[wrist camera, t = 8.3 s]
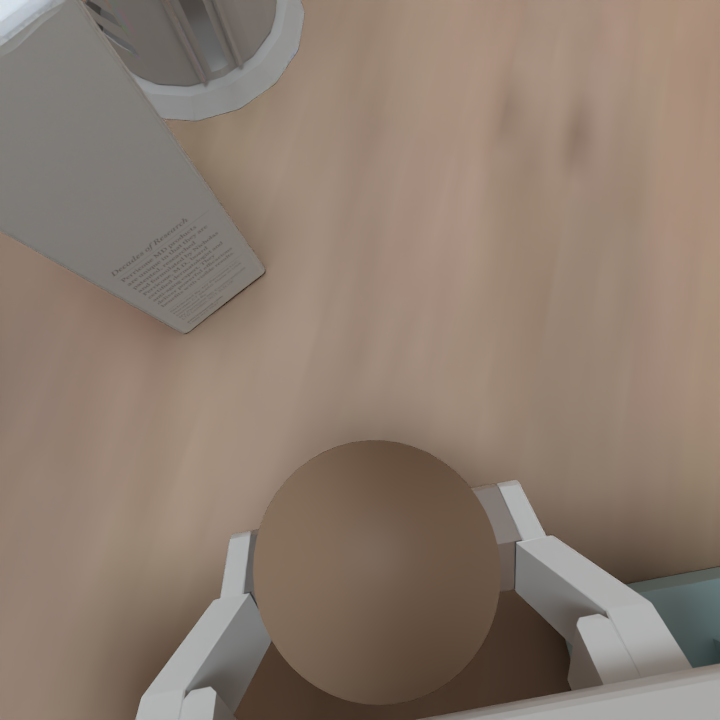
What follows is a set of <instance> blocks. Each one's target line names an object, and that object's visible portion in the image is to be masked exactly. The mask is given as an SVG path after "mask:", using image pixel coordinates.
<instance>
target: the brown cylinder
mask: <svg viewBox="0 0 720 720" xmlns="http://www.w3.org/2000/svg"><path fill="white" fill-rule="evenodd" d="M253 580H254V591H255V596H256V601H257V606H258V609H259V612H260V615H261V618H262V621H263V624H264V626H265V628H266V630H267V632H268V634H269V637H270V639H271V640H272V642H273V643H274V645H275V646H276V648H277V650H278V651H279V653H280V654H281V655H282V656H283V658H284V659H285V660H286V661H287V662H288V664H289V665H290V666H291V667H292V668H293V669H294V670H295V671H296V672H298V673H299V674H300V675H301V676H302V677H303V678H304V679H306V680H307V681H309V682H310V683H311V684H313V685H314V686H316V687H317V688H319V689H321V690H323V691H325V692H327V693H329V694H331V695H333V696H335V697H338V698H341V699H344V700H347V701H350V702H356V703H361V704H367V705H389V704H398V703H403V702H407V701H411V700H415V699H418V698H420V697H423V696H425V695H427V694H430V693H432V692H434V691H435V690H437V689H439V688H440V687H442V686H444V685H445V684H447V683H448V682H449V681H451V680H452V679H453V678H454V677H455V676H457V675H458V674H459V673H460V672H461V671H462V670H463V669H464V668H465V667H466V666H467V665H468V663H469V662H470V661H471V660H472V659H473V658H474V656H475V655H476V653H477V652H478V650H479V649H480V647H481V646H482V644H483V642H484V640H485V638H486V636H487V634H488V632H489V630H490V628H491V625H492V622H493V619H494V616H495V613H496V609H497V605H498V600H499V595H500V582H501V569H500V557H499V551H498V545H497V541H496V537H495V534H494V531H493V527H492V525H491V522H490V520H489V518H488V516H487V513H486V511H485V509H484V508H483V506H482V504H481V503H480V501H479V499H478V498H477V496H476V495H475V493H474V492H473V491H472V489H471V488H470V487H469V486H468V484H467V483H466V482H465V481H464V480H463V479H462V478H461V477H460V476H459V475H458V474H457V473H456V472H455V471H454V470H453V469H451V468H450V467H449V466H447V465H446V464H445V463H443V462H442V461H441V460H439V459H437V458H436V457H434V456H432V455H430V454H429V453H427V452H424V451H422V450H420V449H417V448H415V447H412V446H408V445H405V444H401V443H397V442H390V441H371V440H368V441H360V442H352V443H348V444H345V445H341V446H337V447H335V448H332V449H330V450H327V451H325V452H323V453H321V454H319V455H318V456H316V457H314V458H312V459H311V460H309V461H308V462H307V463H305V464H304V465H303V466H301V467H300V468H299V469H297V470H296V471H295V472H294V473H293V474H292V475H291V476H290V477H289V478H288V479H287V480H286V482H285V483H284V484H283V485H282V487H281V488H280V489H279V490H278V492H277V493H276V495H275V496H274V498H273V500H272V501H271V503H270V505H269V506H268V508H267V511H266V513H265V515H264V517H263V520H262V522H261V525H260V529H259V532H258V535H257V539H256V545H255V550H254V560H253Z"/></svg>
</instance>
